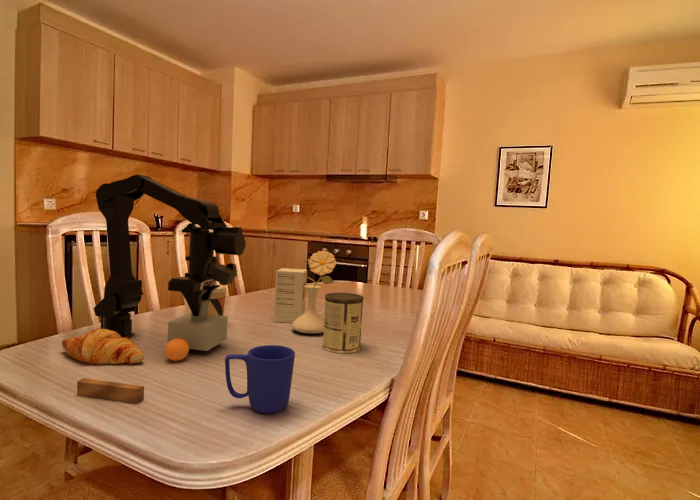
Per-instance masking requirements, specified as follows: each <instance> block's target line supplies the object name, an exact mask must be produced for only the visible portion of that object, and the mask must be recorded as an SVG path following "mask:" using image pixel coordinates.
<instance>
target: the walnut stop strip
mask: <svg viewBox="0 0 700 500" xmlns="http://www.w3.org/2000/svg"><path fill="white" fill-rule="evenodd" d="M76 395H77V396H82V397H90V398H94V399H95V398H96V399H104V400H110V401H115V402H116V401H118V402H125V403H132V404H140V403H141V402H143V401H144V400H145V386H144V385H137V384H129V383H123V382H117V381H116V382H114V381H107V380H100V379H93V378H92V379H91V378H86V377H85V378H81V379H80V380H77V383H76Z"/></svg>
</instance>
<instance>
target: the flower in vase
mask: <svg viewBox="0 0 700 500" xmlns="http://www.w3.org/2000/svg"><path fill="white" fill-rule="evenodd" d="M307 264H308V267H309V268H310V269H309V270H310V272H312V273H314V274H316V275H318V276H320V277H319V279H318V280H317V281H315V280H314V279H313V278H311V277H310V276H308V275H307V276H306V277H307V279H309V280H310V281H312V282H314V283H315V284H314V285H313V284H310V285H309V284H306V286H304V287H305V289H306V295H307V307H306V308H307V309H305V313H304V314H302V315H301V316H300V317H298V318H297V319H296V320H295V321H294V322H293V323H291V328H292V329H293V330H294V331H296V332H299V333H302V334H308V335H309V334H311V335H313V334H321V333H324V318H323V317H322V316H321V315H320V314H319V313H318V312H317V310H316V301H317V295H318V292H319V291H320V290H321V288H322V287H321V286H320V285H317V284H319V282H320V280H321V282H322V283H323V284H324V285H330V284H334V283H335V282H334V280H333V279H332V278H331V276H329V275H326V274H331V273H332V272H333V271H334V269H335V268H336V266H337V261H336V258H335V255H334V254H333V253H332V252H329V251H327V250H321V251H320V250H318V251H317V252H314V253H312V255H311V256H310V258H309V259H308V263H307Z"/></svg>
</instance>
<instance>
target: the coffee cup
mask: <svg viewBox="0 0 700 500" xmlns="http://www.w3.org/2000/svg"><path fill="white" fill-rule="evenodd" d="M215 285H217V284H216V283H215ZM219 285H220V287H218V288H217V289H216V290H214V291H213V292H212V295H211V297H210V300H209V303H208V313H207V314H209V315H219V316H224V312H225V303H226V293H227V288H226V285H222V284H219Z"/></svg>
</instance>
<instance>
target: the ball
mask: <svg viewBox="0 0 700 500" xmlns="http://www.w3.org/2000/svg"><path fill="white" fill-rule="evenodd" d="M189 351H190V349H189V345H188V343H187V342H186V341H185V340H183V339H181V338H176V339H173V340H171V341H169V342H168V341H167V343H166V346H165V348H164V353H165V356H166V358H167V359H169V360H171V361H174V362H178V361H181V360H184V359H185V358H186V357H187V355H188V354H189Z"/></svg>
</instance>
